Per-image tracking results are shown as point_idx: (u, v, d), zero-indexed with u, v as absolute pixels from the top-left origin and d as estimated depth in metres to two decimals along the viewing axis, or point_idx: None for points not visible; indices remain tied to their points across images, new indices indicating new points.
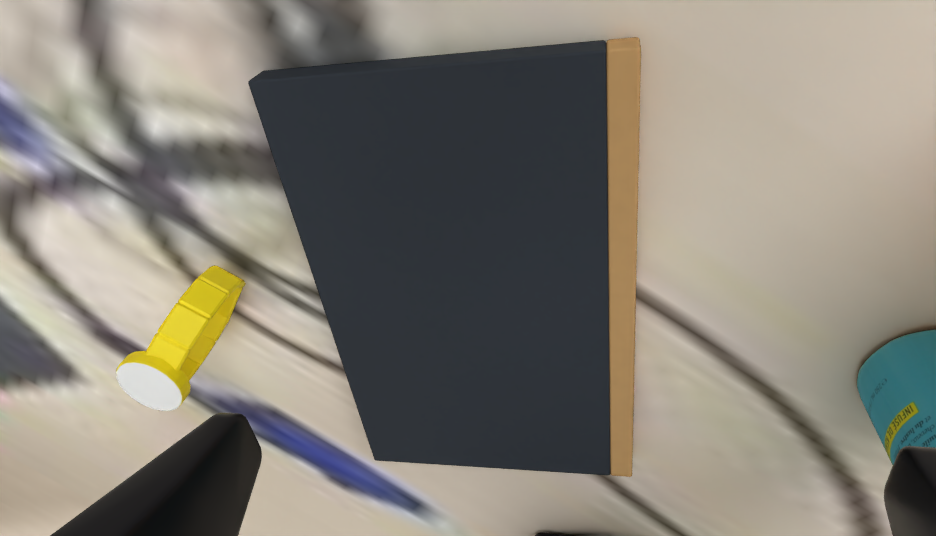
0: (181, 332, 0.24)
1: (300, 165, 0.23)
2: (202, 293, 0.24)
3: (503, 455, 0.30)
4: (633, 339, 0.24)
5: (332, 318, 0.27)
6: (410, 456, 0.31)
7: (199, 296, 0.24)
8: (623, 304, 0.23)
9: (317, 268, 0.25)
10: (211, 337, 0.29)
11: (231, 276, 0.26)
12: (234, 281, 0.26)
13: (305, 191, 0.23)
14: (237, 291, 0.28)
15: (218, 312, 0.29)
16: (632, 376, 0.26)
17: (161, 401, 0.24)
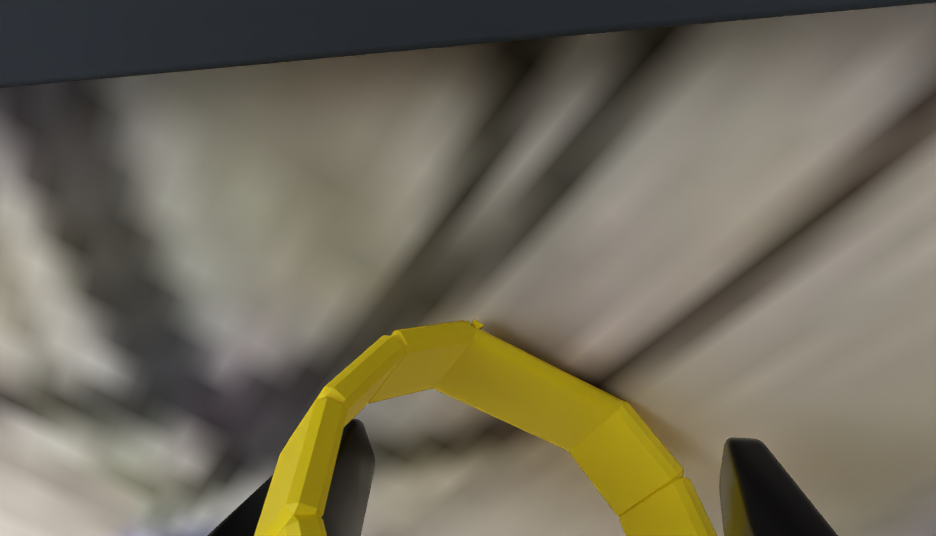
0: None
1: None
2: (281, 473, 0.07)
3: None
4: None
5: (527, 8, 0.05)
6: None
7: (275, 489, 0.07)
8: None
9: (252, 29, 0.06)
10: (660, 482, 0.09)
11: None
12: None
13: None
14: (490, 351, 0.09)
15: (592, 424, 0.09)
16: None
17: None
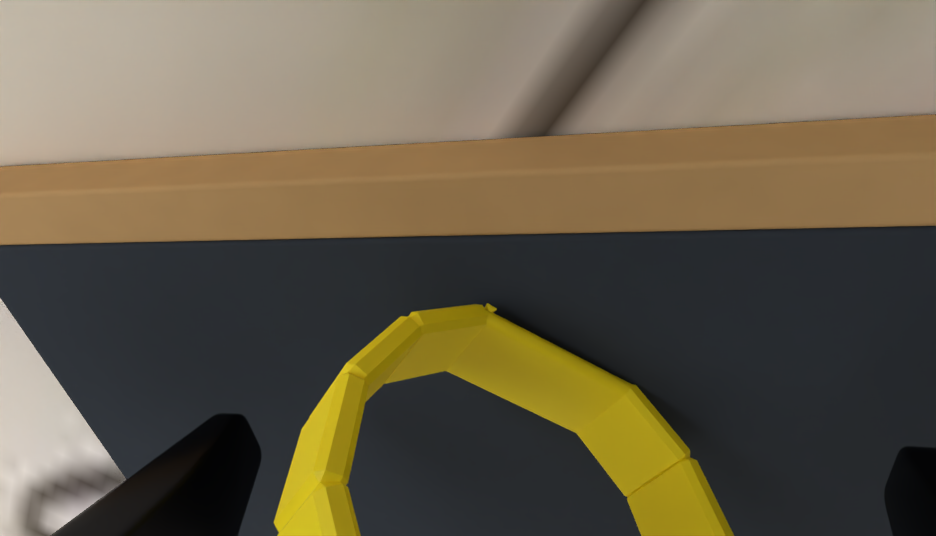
0: None
1: None
2: (304, 445, 0.07)
3: None
4: (640, 168, 0.08)
5: None
6: None
7: (300, 460, 0.07)
8: (501, 202, 0.08)
9: None
10: (667, 462, 0.09)
11: None
12: None
13: None
14: (503, 334, 0.09)
15: (601, 407, 0.10)
16: (817, 163, 0.07)
17: None
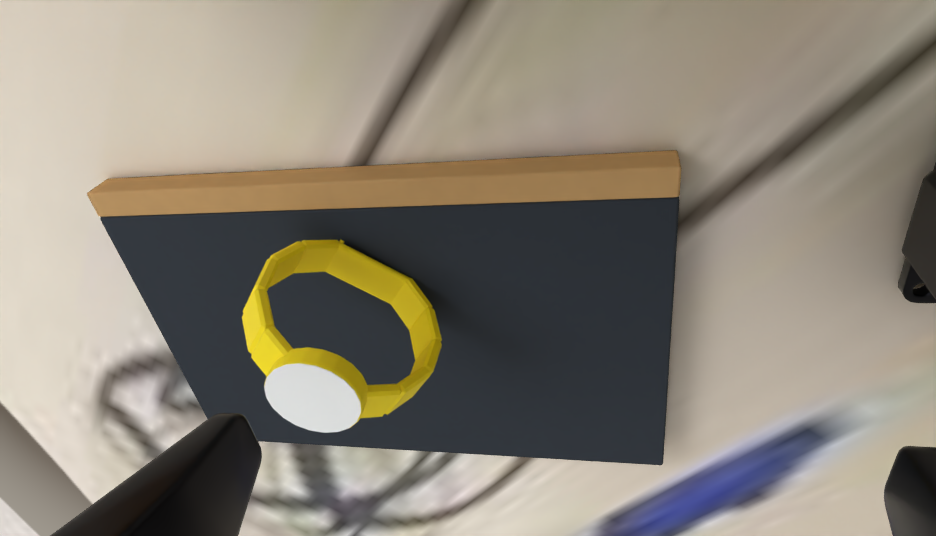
0: (253, 327, 0.17)
1: (272, 428, 0.28)
2: None
3: (639, 332, 0.21)
4: (391, 180, 0.19)
5: (430, 447, 0.26)
6: (649, 430, 0.23)
7: None
8: (340, 194, 0.20)
9: (371, 443, 0.27)
10: (421, 310, 0.21)
11: None
12: None
13: (294, 431, 0.27)
14: (346, 252, 0.20)
15: (397, 289, 0.21)
16: (453, 178, 0.19)
17: (337, 395, 0.16)
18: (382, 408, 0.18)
